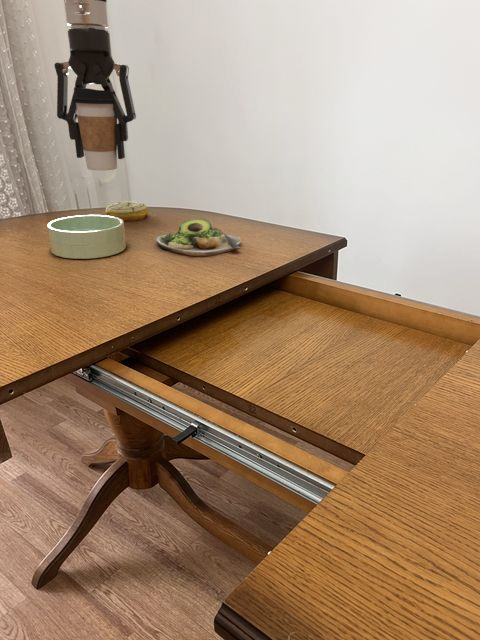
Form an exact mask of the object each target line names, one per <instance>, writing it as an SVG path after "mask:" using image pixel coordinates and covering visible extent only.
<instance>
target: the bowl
mask: <svg viewBox="0 0 480 640" xmlns="http://www.w3.org/2000/svg"><path fill="white" fill-rule="evenodd" d="M47 232H48V238H49V246H50V251H51V253H52V254H53V255H54V256H57V257H60V258H65V259H73V260H74V259H75V260H77V259H78V260H79V259H80V260H81V259H82V260H89V259H99V258H105V257H110V256H113V255H117V254H119V253H121V252H123V251H125V249H126V248H127V242H126V231H125V221H123V220H122V219H119V218H116V217H112V216H107V215H102V214H86V215H85V214H83V215H73V216H67V217H61V218H57V219H54V220H51V221H50V222H48V223H47Z"/></svg>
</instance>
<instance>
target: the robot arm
mask: <svg viewBox="0 0 480 640" xmlns="http://www.w3.org/2000/svg"><path fill="white" fill-rule="evenodd" d="M63 3H64V11H65V12H64V13H65V18H66V19H65V20H66V25H67V26H69V27H70V28H68V30H67V38H68V46H69V47H68V48H69V59H68V61H64V62H55V63H54V65H53V66H54V69H55V73H56V76H57V84H56V85H57V86H56V87H57V89H56V93H57V94H56V117H57V118H58V119H59V120H63V121H65V122H66V123H67V126H68V127H67V128H68V135H69V139H70V140H71V141H73V140H74V145H75V154H76V158H77V159H82V158H83V157H85V152H84V148H83V143H82V138H81V133H80V128H79V123H78V119H77V115H78V113H77V107H76V103H74V100H73V98H74V92H73V93H72V97H71V100H70V104H69V108H68V91H69V89H68V87H69V84H68V83H69V77H68V75H69V74H70V69H71V70H72V72H73V73H74V74H75V76H76V79H75V82H74V87H75V88H87V85H92V84H93V85H101V88H102V89H103V90H104V91H111V92H112V91H115V89H114V87H113V84H112V81H111V79H110V77H111V74H112V73H113V71H115V73H116V76H117V77H118V79H119V85H120V89H121V94H122V100H123V103H124V108H125V111H124V108H123V107H122V104H121V103H120V100H119V98H118V96H117V95H116V97H115V96H114V94H113V93H112V96H113V99H114V102H115V104H113V110H114V112H115V114H116V117H117V124H115V127H116V139H117V160H123V159H124V158H125V157H126V156H125V155H126V154H125V143H124V142H128V140H129V130H128V124H129V123H131V122H133V121H135V120H136V119H137V114H136V110H135V109H136V108H135V105H134V104H135V103H134V100H133V96H132V91H131V86H130V81H129V74H130V67H129V66H128V65H127V64H120V63H115V61H114V59H113V56H112V47H111V45H112V44H111V36H110V32H109V31H108V30H107V28H109V27H110V22H109V21H110V20H109V11H108V0H63Z"/></svg>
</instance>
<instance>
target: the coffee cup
mask: <svg viewBox="0 0 480 640" xmlns="http://www.w3.org/2000/svg"><path fill="white" fill-rule="evenodd" d="M73 93H74V98H73V100H74V103H76V107H77V113H78V115H77V122H78V123H79V128H80V133H81V138H82V143H83V148H84V157H85V163H86V168H87V170H90V171H101V172H103V171H104V172H105V171H115V170H116V169H117V168H118V151H117V139H116V127H115V124H118V119H117V117H116V114H115V112H114V110H113V104H115V102H114V99H113V96H112V93H113V94H114V96H115V97H116V96H117V93H116V91H115V90H114V91H112V92H111V91H104V89H103V90H101V89H94V88H88V87H86V88H75V86H74V87H73Z"/></svg>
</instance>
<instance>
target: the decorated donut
mask: <svg viewBox="0 0 480 640" xmlns="http://www.w3.org/2000/svg"><path fill="white" fill-rule="evenodd" d="M105 214H106V216H112V217H116V218H119V219H122V220H123V222H135V221H140V220H144V219H145V218H146V217H147V216H148V214H149V209H148V205H146V204H145V203H144V202H139V201H122V202H120V201H119V202H116V203H111V204H109V205H107V206H106V207H105Z"/></svg>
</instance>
